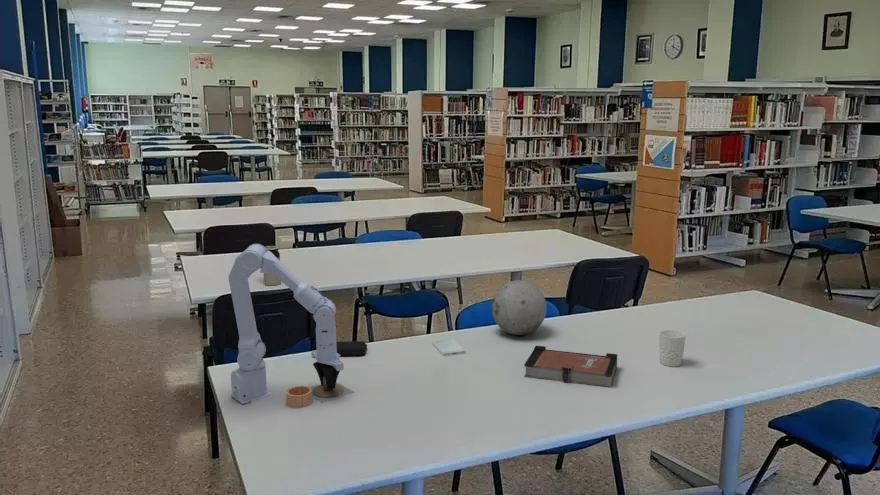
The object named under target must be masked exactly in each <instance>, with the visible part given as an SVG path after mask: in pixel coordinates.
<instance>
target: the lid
mask: <svg viewBox="0 0 880 495" xmlns="http://www.w3.org/2000/svg"><path fill="white" fill-rule="evenodd" d="M339 384H340V383H339ZM339 384H336V385H335V388H334V389H331V390H328V388H327V384H326V378H325V376H323V386H322V385H321V384H319V385H316V386H314V387H315V388H314V387H313V388H314V389H313V394H314V395H315V396H317V397H321V398H331V397H336V396H339V395H341V394H342V393H343V392H344V387H345V386H344V385H343V386H344V387H343V386H341V385H342V384H341V385H339Z"/></svg>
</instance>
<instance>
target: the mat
mask: <svg viewBox="0 0 880 495" xmlns="http://www.w3.org/2000/svg"><path fill="white" fill-rule="evenodd" d="M336 384H339V385H341V386H343V387H344V392H343V393H342V394H341V395H339V396H336V397H331V398H321V397H317V396H315V395H314V394H313V389H314V388H315V387H316V386H314V387H310V388H311V389H312V399H314V400H316V401H318V402H320V403H322V404H323V403H326V402H329V401H331V400H336V399H339V398H342V397H344V396H349V395H350V394H351V395H352V394H354V393H355V391H354V390H352V389H350V388H348V387H346V386H344V385H342V384H340V383H338V382H337V381H336Z"/></svg>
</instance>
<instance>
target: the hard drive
mask: <svg viewBox="0 0 880 495" xmlns="http://www.w3.org/2000/svg"><path fill="white" fill-rule="evenodd" d="M431 345H432V346H433V347H434V348H435V350H436V351H437V352H438V353H439V354H440V355H441V356H442V357H448V356H456V355H465V354H467V352H466V350H465V349H463V347H462V345H460V344H459V343H458V342H457V341H456V340H455V339H445V340H438V341H433V342H432V343H431Z"/></svg>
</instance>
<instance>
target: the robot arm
mask: <svg viewBox="0 0 880 495" xmlns="http://www.w3.org/2000/svg"><path fill="white" fill-rule="evenodd" d="M265 247H266V246H264V245H262V244H261V243H253V244H249V246H248V247H247V248H246V249H245V250H244V251H241V253H240V254H238V256H237V257H236V258H235V259H234V263H233V265H232V267H231V270H230V272H229V274H228V283H229V287H230V294H231V299H232V304H233V305H232V306H233V309H234V314H235V316H234V317H235V321H236V325H237V330H238V331H237V332H238V338H239V339H238V344H237V348H238V355H237V358H236V361H237V365H238V366H239V367H238V368H236V369H235V370H232V371H231V373H230V385H231V394H230V396H231V397H232V398H234V400H236V401H237V402H239V403H240V404H243V405H244V404H248V403H251V402H252V401H255V400H259V399H262V398H267V397H269V396H273V394H274V393H273V392H271V391H270V390H268V386H267V385H268V383H267V372H266V370H267V367H266V361H265V360H264V359H263V357H264V356H265V354H266V353H267V352H266V351H267V348H266V345H265V343H264V342H263V340H262V339H261V334H260V333H259V332H258V329H257V322H256V317H255V312H254V306H253V302H252V295H251V290H250V285H249V279H250V277H251V276H252V275H253V274H254V273H255V272H257V271H258V270H259V269H260V271H259V273H261V274H264V273H271V274H273V275H274V276H275V277H276V278H278V279H279V280H280V281H281V283H283V284H284V286H286V287H287V288H289V289H290V290H291V291H292V292H293V299H295V300H296V301H297V302H298V303H299V304H300V305H302V307H304V308H305V310H306V311H308V312H309V313H310V314H313V315H312V318H313V320H314V321H315V324H316V325H315V326H316V327H315V342H316V343H315V344H316V349H315V350H312V351H311V358H312V359H315V360H316V361H315V362H313V365H312V366H313V368H314V369H315V371H316V373H317V375H318V378H319V381H320V385H322V386H323V376H325V378H326V384H327V388H328V390H331V389H334V388H335V385H336V382H337V380H338V377H339V375H340V374H339V373H340V372H341V371H343V370H344V362H342V361H341V359H340V354H338V353H337V345H336V342H337V326H336V319H335V318H336V316H335V315H336V312H337V308H336V307H337V306H336V305H335V303H334V302H333V300H331V299H328V298H327V297H326V296H323V295H322V294H321V293H320V292H319V291H318V290H316V286H315V285H314V284H310V283H309V282H302V281H300V280H299V279H298V278H297V277H296V276H295V275H294V274H293V273H292V272H291V271H290V270H289V269H288V268H287V267H286V266H285V265H284V263H283V262H281V260H280V261H279V260H278V259H277V258H276V257H275V256H274V254H273V253H272V252H270V251H269V250H268V251H267V249H266V248H265Z"/></svg>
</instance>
